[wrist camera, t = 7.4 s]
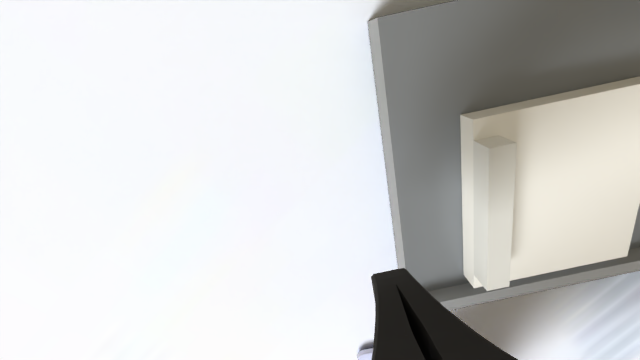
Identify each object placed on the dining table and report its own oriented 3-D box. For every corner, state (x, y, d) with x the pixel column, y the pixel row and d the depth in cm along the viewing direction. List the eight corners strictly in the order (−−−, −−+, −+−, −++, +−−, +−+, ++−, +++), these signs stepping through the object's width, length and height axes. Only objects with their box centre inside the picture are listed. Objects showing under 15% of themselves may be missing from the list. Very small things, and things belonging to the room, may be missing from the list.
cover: (608, 244, 19) (651, 270, 17) (463, 274, 19) (486, 305, 17) (641, 76, 15) (704, 79, 13) (460, 114, 15) (489, 125, 13)
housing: (696, 225, 22) (755, 251, 19) (400, 287, 22) (415, 322, 19) (792, -71, 15) (905, -99, 12) (367, 21, 15) (383, 14, 12)
